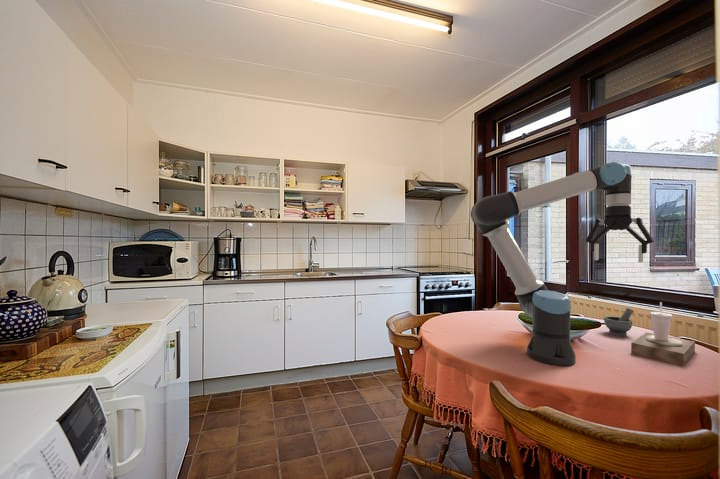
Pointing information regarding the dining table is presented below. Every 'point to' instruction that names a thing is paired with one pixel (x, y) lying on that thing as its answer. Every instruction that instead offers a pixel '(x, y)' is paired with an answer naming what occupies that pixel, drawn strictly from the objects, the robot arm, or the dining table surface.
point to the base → (664, 348)
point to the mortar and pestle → (619, 323)
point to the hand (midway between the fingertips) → (617, 261)
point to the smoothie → (661, 324)
